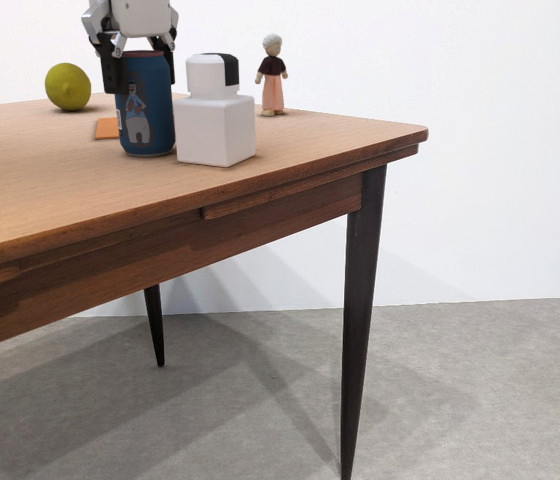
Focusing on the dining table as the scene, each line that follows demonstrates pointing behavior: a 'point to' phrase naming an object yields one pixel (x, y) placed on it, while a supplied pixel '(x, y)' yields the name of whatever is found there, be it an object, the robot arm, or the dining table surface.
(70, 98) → the lemon
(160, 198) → the dining table surface
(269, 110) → the grandmother figurine
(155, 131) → the soda can
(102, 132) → the orange cloth
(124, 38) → the robot arm
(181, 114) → the medicine bottle
